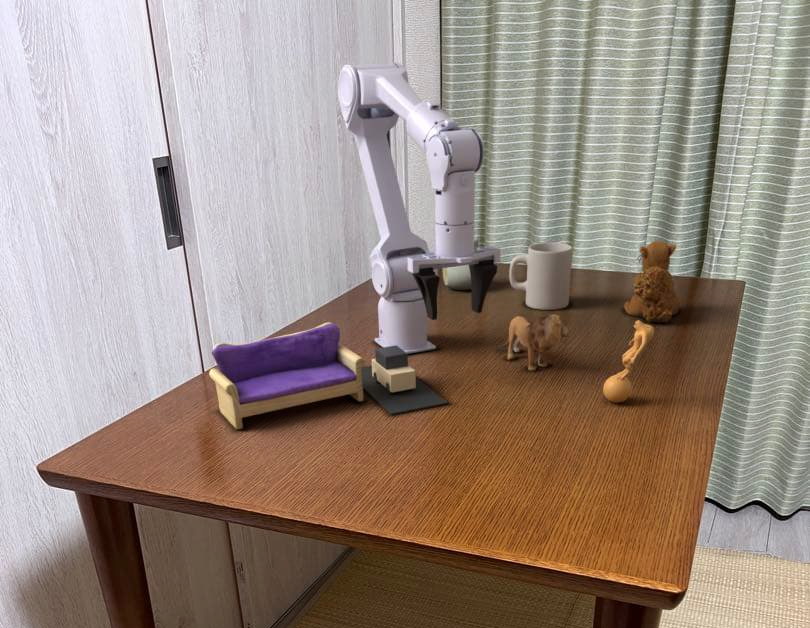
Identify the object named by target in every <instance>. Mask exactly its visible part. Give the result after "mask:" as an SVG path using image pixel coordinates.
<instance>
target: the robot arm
mask: <svg viewBox="0 0 810 628" xmlns="http://www.w3.org/2000/svg"><path fill="white" fill-rule="evenodd" d="M337 82H338V83H337V85H338V86H337V98H338V102H339V105H340V110H341V113H342V116H343V120H344V123H345V127H346V129H347V130H348V131H349V132H350V133H352V134H353V136H354V139H355V140H354V141H355V144H356V148H357V151H358V156H359V159H360V163H361V167H362V170H363V175H364V179H365V183H366V187H367V191H368V194H369V198H370V202H371V206H372V209H373V214H374V218H375V223H376V225H377V229H378V233H379V237H380V241H379V242H378V243H377V245H376V246H375V247H374V248H373V250H372V251H371V253H370V255H369V261H370V267H371V281H372V285H373V288H374V289H375V291H376V293H377V294H378V295H379V296H380V299H379V300H378V304H377V312H378V314H377V315H378V317H377V318H378V337H375V338H374V342H375V343H376V344H378V345H379V346H381V348H383V347H389V346H395V345H397V346H398V347H399V348H401V349H402V350H404V351H405V352H406V353H408V355H410V354H414V353H415V354H416V353H421V352H427V351H432V350H436V349H437V346H436V345H435V344H433V343H432V342H430V341H429V340H428V325H427V323H428V322H427V321H428V320H427V319H430V320H431V321H435V320H437V319H438V292H439V285H440V284H439V283H440V280H441V278H440V276H439V275H438V270H439V269H443V268H448V267H456V266H464V265H469V269H470V276H471V286H472V289H471V298H470V305H471V310H472V311H473V312H475V313H477V314H481V313H482V311H483V307H484V303H485V299H486V296H487V293H488V292H489V291H488V290H489V288H490V286H491V285H492V284H491V283H492V281H493V280H494V278H495V276H496V275H497V273H498V265H497V264H495V263H501V259H502V258H501V254H502V249H501V248H499V247H497V246H486V247H479V248H474V237H475V209H476V208H475V206H476V205H475V204H476V199H475V198H476V173H478V172H479V171H480V169H481V168H482V165H483V163H484V159H485V146H484V142H483V139H482V136H481V135H480V133H479V132H478V131H477V130H478V129H476V127H473V126H472V127H466V128H465V127H460V126H459V124H457V123H456V121H455V120H454V119H453V118H451V117H450V116H449V115H448V114H447V113H446V112H445V111H444V110H443V109H442V108H441V104H440V103H439V102H438V101H437V100H428V101H427V100H426V101H423V100H422V99H421V98H420V96H419V94H417V93H416V91H415V90H414V89H413V88H412V86H411V85H410V83H409V75H408V71H407V69H406V68H404V67H403V66H402V64H401V63H400V62H397V61H396V62H390V63H377V64H374V63H373V64H357V65H353V64H345V65H343V67H342V69H341V71H340V72H339V75H338V81H337ZM399 118H400V119H402V120H403V121H404V122H405V123H406V125H405V129H406V133H407V135H408V136H409V138H410V139H411V140H412V141H413V142H414V143H415V144H416V145H417V146H418V147H419V148H420V150H421V151H423V153H424V154H425V159H426V165H427V168H428V171H429V174H430V185H431V189H434V229H435V231H434V232H435V235H434V236H435V237H434V238H435V240H434V241H435V251H432V252H431V251H430V249H429V245H428V243H427V241H426V240H425V239H423V238H422V237H420V236H419V235H417V234H415V233H413V231H412V230H411V227H410V222H409V219H408V215H407V212H406V208H405V203H404V199H403V196H402V191H401V187H400V183H399V180H398V176H397V172H396V168H395V164H394V161H393V156H392V153H391V149H390V144H389V140H388V132H389V131H390V130H391V129H393V128H394V127H396V126H397V124H398V120H399Z"/></svg>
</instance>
